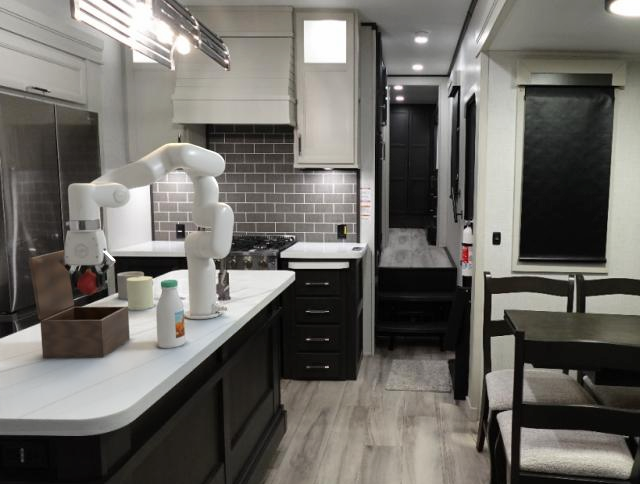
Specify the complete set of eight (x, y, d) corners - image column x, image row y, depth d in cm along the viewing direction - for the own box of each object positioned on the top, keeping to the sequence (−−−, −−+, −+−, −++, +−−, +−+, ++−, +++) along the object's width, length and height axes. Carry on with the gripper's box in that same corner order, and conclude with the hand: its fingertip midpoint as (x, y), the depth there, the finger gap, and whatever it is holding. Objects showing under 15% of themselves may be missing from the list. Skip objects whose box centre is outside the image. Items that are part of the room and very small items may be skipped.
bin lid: (65, 250, 151) (63, 250, 151) (31, 258, 136) (28, 258, 136) (74, 305, 154) (71, 305, 154) (41, 319, 138) (38, 319, 138)
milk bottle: (167, 350, 147) (164, 284, 145) (152, 345, 151) (149, 281, 149) (190, 343, 153) (188, 280, 151) (175, 338, 157) (173, 277, 155)
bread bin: (129, 339, 156) (128, 306, 155) (103, 357, 140) (101, 320, 139) (75, 340, 155) (73, 306, 154) (42, 358, 139) (40, 320, 138)
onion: (89, 298, 143) (88, 271, 142) (72, 297, 144) (71, 270, 143) (105, 294, 148) (104, 267, 147) (89, 292, 149) (87, 266, 148)
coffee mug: (115, 299, 206) (113, 276, 204) (122, 294, 215) (121, 271, 214) (149, 298, 209) (148, 275, 208) (155, 293, 218) (154, 271, 217)
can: (149, 303, 201) (148, 274, 200) (157, 307, 195) (156, 277, 193) (124, 306, 195) (123, 277, 193) (131, 311, 188) (130, 280, 187)
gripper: (46, 226, 139) (50, 289, 141) (109, 227, 141) (112, 289, 143) (62, 224, 147) (66, 283, 149) (122, 224, 148) (125, 283, 150)
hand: (89, 285), depth 146 cm, fingers closed on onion, 5 cm apart
